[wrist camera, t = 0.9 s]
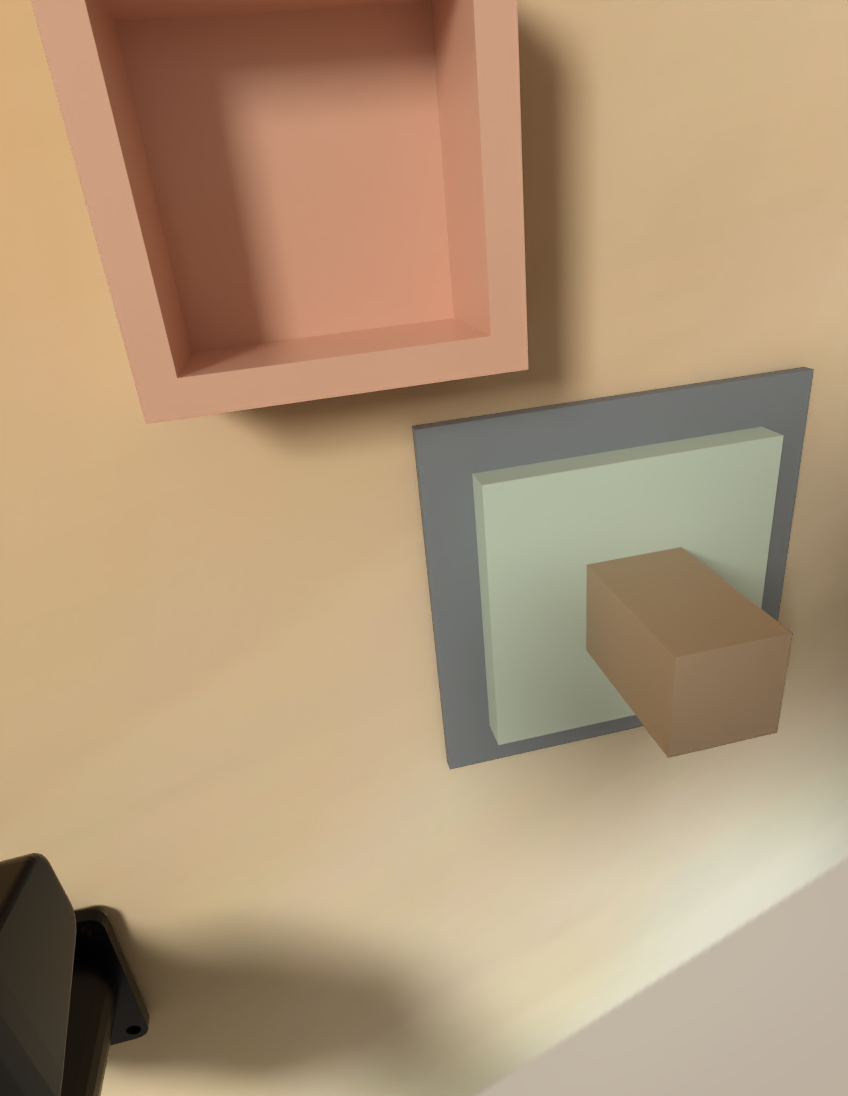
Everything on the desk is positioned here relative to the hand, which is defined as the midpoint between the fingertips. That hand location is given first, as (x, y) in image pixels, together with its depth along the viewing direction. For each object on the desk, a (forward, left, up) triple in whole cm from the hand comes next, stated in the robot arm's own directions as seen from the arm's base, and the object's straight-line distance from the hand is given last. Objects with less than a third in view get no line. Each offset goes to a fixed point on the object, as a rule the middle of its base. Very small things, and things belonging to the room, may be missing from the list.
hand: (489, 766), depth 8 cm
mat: (-6, -8, -13) cm, 16 cm away
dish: (+6, 0, -13) cm, 14 cm away
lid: (-6, -8, -13) cm, 16 cm away
